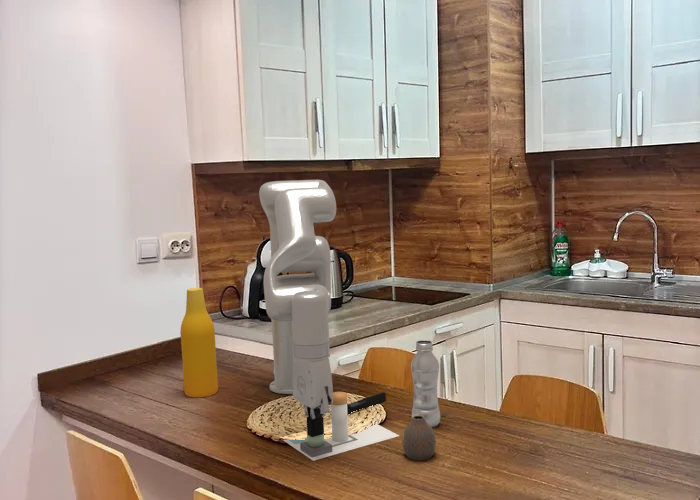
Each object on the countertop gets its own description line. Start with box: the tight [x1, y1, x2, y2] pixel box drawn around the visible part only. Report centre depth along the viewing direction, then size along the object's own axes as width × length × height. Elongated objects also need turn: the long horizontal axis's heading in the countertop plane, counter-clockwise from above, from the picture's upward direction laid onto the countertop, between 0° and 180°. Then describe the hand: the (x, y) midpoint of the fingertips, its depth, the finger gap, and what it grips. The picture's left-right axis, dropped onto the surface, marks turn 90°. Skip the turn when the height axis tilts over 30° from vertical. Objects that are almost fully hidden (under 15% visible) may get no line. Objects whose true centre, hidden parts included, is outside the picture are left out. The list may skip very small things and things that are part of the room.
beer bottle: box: [179, 287, 219, 399], centre depth 193 cm, size 9×9×29 cm
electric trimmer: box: [347, 391, 387, 415], centre depth 176 cm, size 4×15×3 cm, turn 133°
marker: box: [330, 391, 349, 442], centre depth 155 cm, size 4×4×10 cm
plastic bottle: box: [410, 339, 441, 429], centre depth 162 cm, size 6×7×20 cm
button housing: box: [300, 440, 332, 457], centre depth 150 cm, size 5×5×2 cm
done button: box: [307, 434, 324, 447], centre depth 150 cm, size 4×4×2 cm
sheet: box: [282, 423, 400, 462], centre depth 158 cm, size 16×22×1 cm
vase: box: [401, 415, 437, 461], centre depth 145 cm, size 7×7×9 cm
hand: (315, 434), depth 149 cm, fingers closed
